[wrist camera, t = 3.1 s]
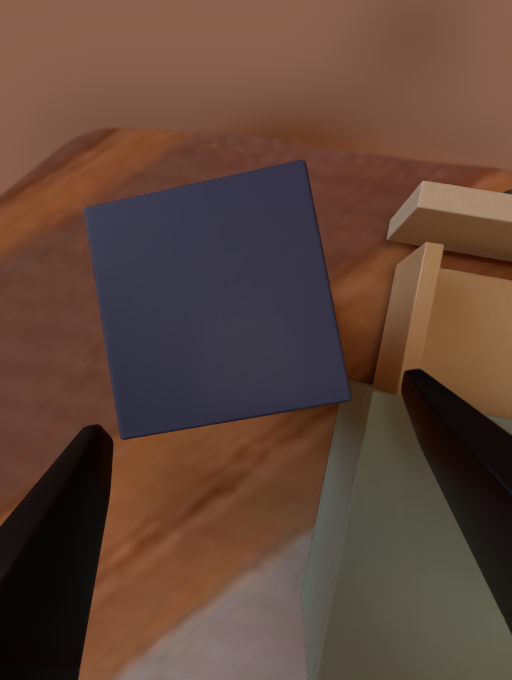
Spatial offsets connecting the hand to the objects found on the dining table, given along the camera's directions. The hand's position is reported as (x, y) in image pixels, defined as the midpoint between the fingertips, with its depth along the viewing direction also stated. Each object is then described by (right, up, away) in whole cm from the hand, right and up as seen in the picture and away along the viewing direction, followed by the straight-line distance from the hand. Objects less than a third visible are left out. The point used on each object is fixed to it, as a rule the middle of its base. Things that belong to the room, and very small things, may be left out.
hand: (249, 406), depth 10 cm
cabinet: (+10, -8, +9) cm, 15 cm away
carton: (0, +2, +10) cm, 10 cm away
